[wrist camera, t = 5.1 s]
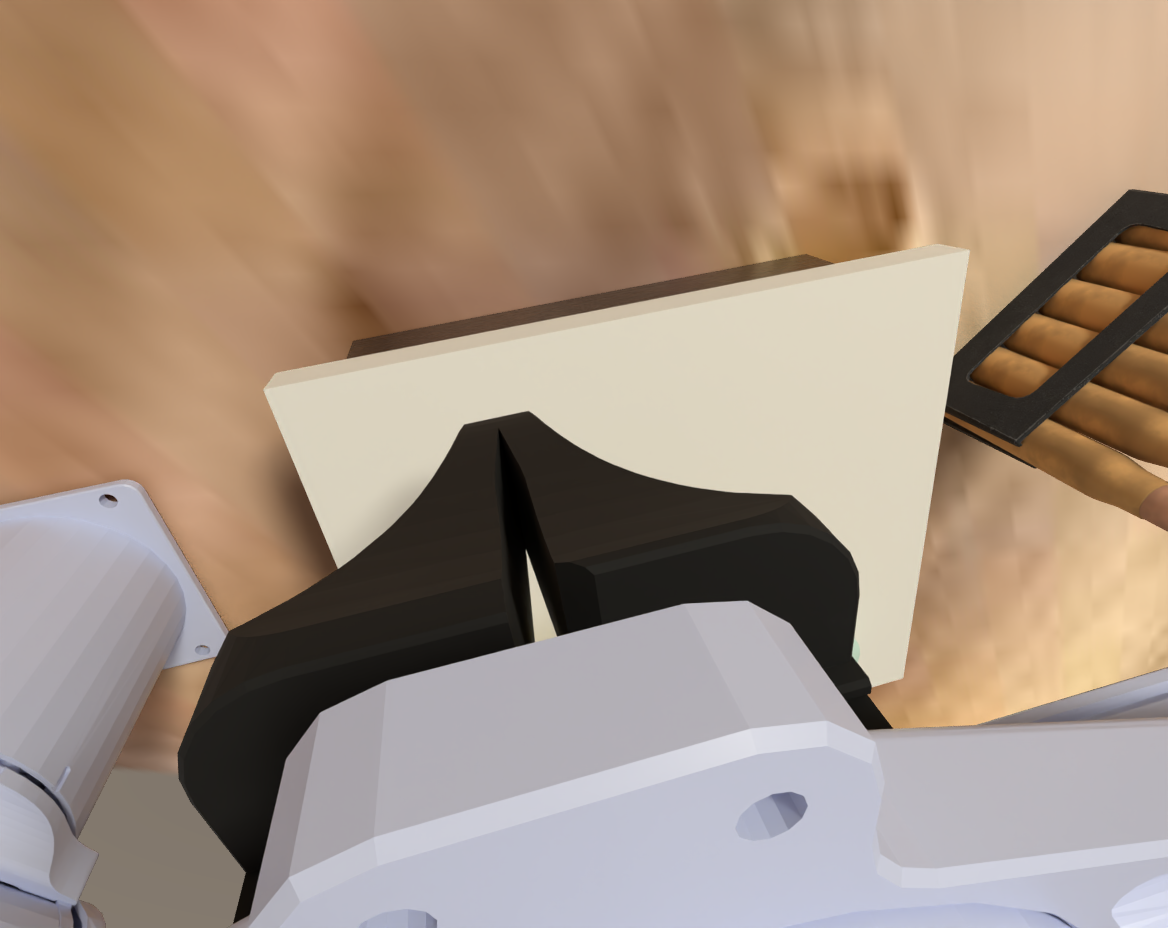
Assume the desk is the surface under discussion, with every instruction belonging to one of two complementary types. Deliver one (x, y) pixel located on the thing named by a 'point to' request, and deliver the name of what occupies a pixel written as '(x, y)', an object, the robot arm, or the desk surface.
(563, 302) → the leveling base
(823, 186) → the desk surface
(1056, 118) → the desk surface
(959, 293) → the plate
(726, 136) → the desk surface
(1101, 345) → the ammunition clip
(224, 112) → the desk surface
